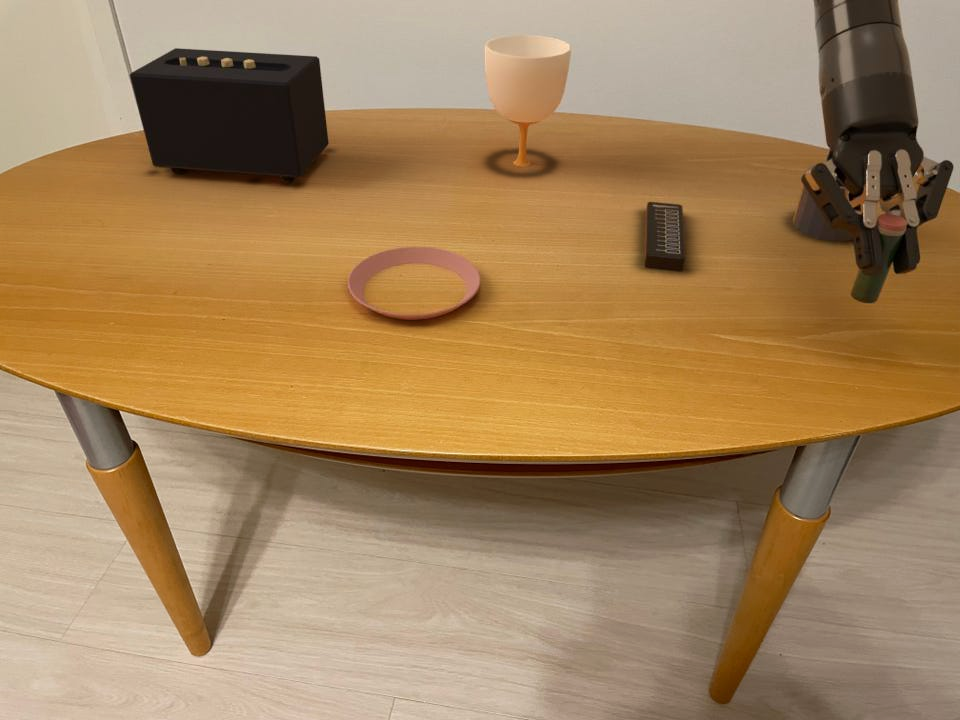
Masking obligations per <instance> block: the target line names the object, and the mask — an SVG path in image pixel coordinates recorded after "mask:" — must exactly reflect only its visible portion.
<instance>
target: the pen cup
mask: <svg viewBox="0 0 960 720" xmlns="http://www.w3.org/2000/svg"><path fill="white" fill-rule="evenodd" d="M815 165H816V164H815ZM815 165H811V167H809V168H807V171H809V170H810V169H811V168H813V167H814V166H815ZM836 182H837V183H838V185H839V187H840V188H841V190H842V191H843V193H844V194H845V187H844V186H843V185H842V184H841V182H840V181H839V180H838V179H837V178H836ZM792 225H793V227H794V228H795V229H796V230H797V231H798V232H800V233H802V234H803V235H806V236H807V237H810V238H814V239H816V240H820V241H824V242H831V243H832V242H833V243H841V242H849V241H851V240H852V241H853V237H852V235H851V234H850V233H849V232H848V231H845V230H842V229H838V230H834V229H832V228H831V227H830V226H829V224H828V223H827V221H826V220H825V218H824V216H823V215H822V213H821V212H820V210H819V208H818V207H817V205H816V204H815V202H814V200H813V199H812V197H811V196H810V194H809V193H808V191H807V189H806V188H805V186H804V185H803V184H802V188H801V192H800V194H799V198H798V202H797V205H796V208H795V211H794V214H793V219H792Z"/></svg>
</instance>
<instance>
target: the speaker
mask: <svg viewBox="0 0 960 720" xmlns="http://www.w3.org/2000/svg"><path fill="white" fill-rule="evenodd" d="M129 79H130V83H131V87H132V90H133V94H134V98H135V102H136V105H137V109H138V113H139V114H138V115H139V117H140V121H141V125H142V129H143V132H144V136H145V141H146V144H147V149H148V153H149V156H150V159H151V163H152V166H153V167H155V168H166V169H171V171H172V173H173V174H178V175H179V174H183V173H186V171H187V170H191V171H193V170H194V171H207V172H220V173H232V174H243V175H256V176H257V175H258V176H270V177H281V178H282V180H283V181H284V183H292V182H294V181H296V178H297V179H300V178H301V177H303V175H304V174H305V173H306V172H307V170H308V169H309V168H310V167H311V165H312V164H313V163H314V162H315V161H316V160H317V158H319V156H320V155H321V154H322V152H323V151H324V150H325V149H326V148H327V147H328V146H329V144H330V143H329V135H328V134H329V133H328V125H327V118H326V117H327V116H326V115H327V114H326V107H325V98H324V89H323V79H322V71H321V63H320V57H318V56H316V55H299V54H298V55H297V54H282V53H280V54H279V53H266V52H265V53H264V52H263V53H262V52H247V51H228V50H214V49H213V50H212V49H197V48H196V49H194V48H179V47H178V48H177V47H175V48H174V49H172V50H170V51H167V52H166V53H164V54H162V55H161V56H159V57H157V58H156V59H153V60H152V61H150V62H148V63H147V64H145V65H143V66H141V67H139V68H137V69H136V70H134V71H132V72H131V73H130V74H129Z"/></svg>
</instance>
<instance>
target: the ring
mask: <svg viewBox="0 0 960 720" xmlns="http://www.w3.org/2000/svg"><path fill="white" fill-rule="evenodd" d="M403 265H429V266H436V267H440V268H443V269H445V270H448V271H451V272H452V273H454V274H455V275H457V276H458V277H459V278H460V279H461V280H462V281H463V283H464V286H465V293H464V295H463V297H462V299H461V300H460V301H459V302H458V303H457V304H455V305H452V306H450V307H447V308H444V309H440V310H436V311H431V312H423V313H399V312H393V311H392V312H391V311H386V310H383V309H379V308H377V307H374V306H372V305H371V304H370V303H369V302H368V301H367V299H366V297H365V293H364V291H365V287H366V284H367V283H368V282H369V280H371V278H373V277H374V276H375V275H377V274H379V273H380V272H382V271H384V270H385V271H386V270H388V269H390V268H394V267H398V266H403ZM481 281H482V280H481V273H480V271H479V270H478V268H477V267H476V265H475V264H474V263H473V262H472V261H470V260H469V259H467V258H465V256H463V255H460V254H458V253H456V252H454V251H450V250H447V249H444V248H437V247H431V246H404V247H395V248H391V249H386V250H383V251H379V252H377V253H375V254H372V255H370V256H368V257H366V258H364V259H363V260H361V261H359V262H358V263H357V264H356V265H355V266H354V267H353V268H352V270H351V271H350V273H349V275H348V277H347V288H348V291H349V293H350V295H351V296H352V297H353V299H354V300H356V301H357V302H358V303H359V304H361V305H362V306H364V307H365V308H368V309H369V310H371V311H373V312H375V313H377V314H379V315H381V316H385V317H388V318H392V319H398V320H405V321H408V320H409V321H410V320H411V321H413V320H415V321H416V320H417V321H418V320H427V319H433V318H437V317H441V316H444V315H446V314H449V313H451V312H453V311H455V310H457V309H458V308H459V307H461V306H463V305H465V304H466V303H467V302H470V300H472V299H473V298H474V297H475V296H476V294H477V293H478V291H479V289H480V287H481V283H482V282H481Z"/></svg>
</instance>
